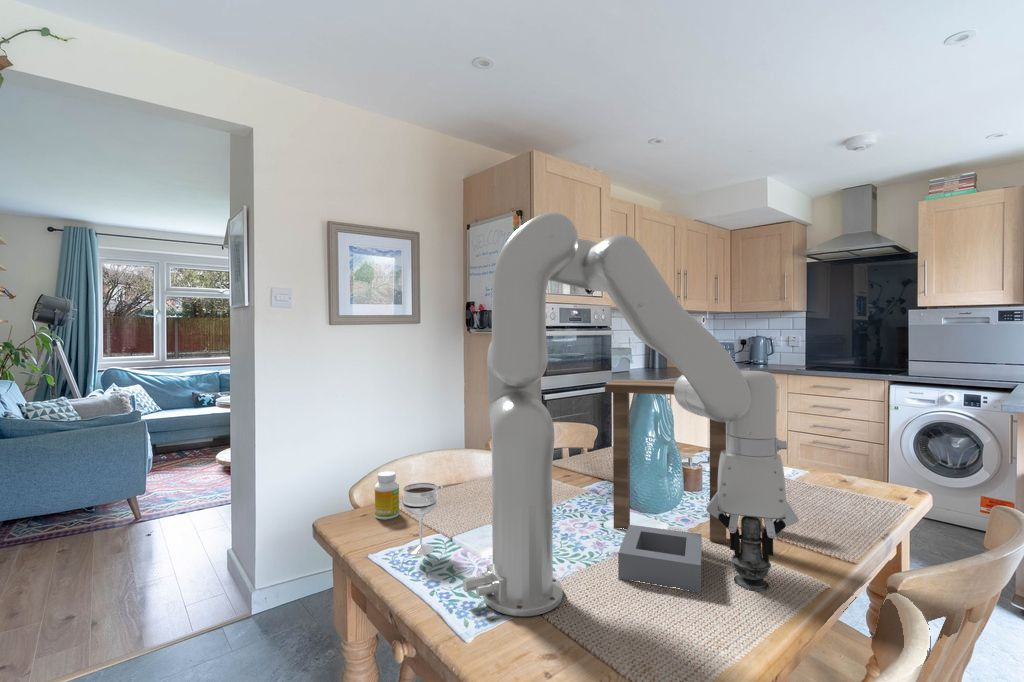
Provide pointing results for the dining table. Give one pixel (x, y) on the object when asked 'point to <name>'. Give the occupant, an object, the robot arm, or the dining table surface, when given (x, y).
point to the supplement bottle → (386, 496)
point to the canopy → (622, 449)
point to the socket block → (661, 557)
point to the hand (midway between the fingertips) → (750, 555)
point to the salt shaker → (751, 557)
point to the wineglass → (420, 509)
